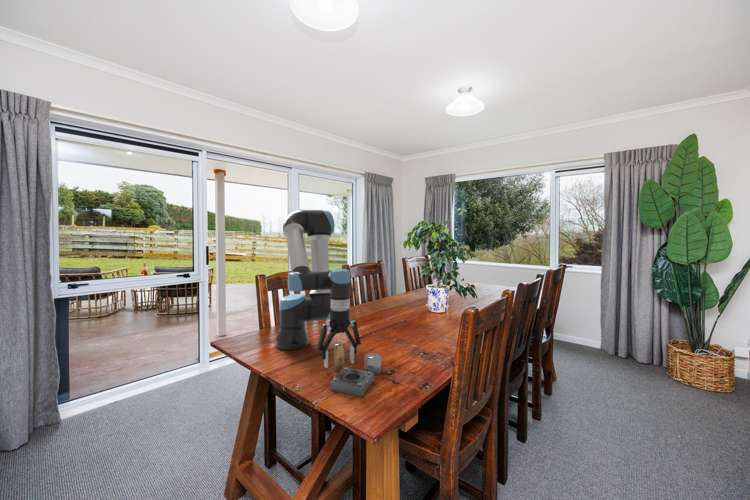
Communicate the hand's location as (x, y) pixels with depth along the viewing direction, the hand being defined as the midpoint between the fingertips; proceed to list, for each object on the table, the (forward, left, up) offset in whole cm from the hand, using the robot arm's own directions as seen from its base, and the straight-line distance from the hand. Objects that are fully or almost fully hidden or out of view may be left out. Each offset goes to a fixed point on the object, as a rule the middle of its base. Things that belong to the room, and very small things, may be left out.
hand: (339, 364), depth 127 cm
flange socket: (+10, -10, -2) cm, 14 cm away
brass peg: (0, 0, -2) cm, 2 cm away
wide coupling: (+13, +3, -2) cm, 13 cm away
